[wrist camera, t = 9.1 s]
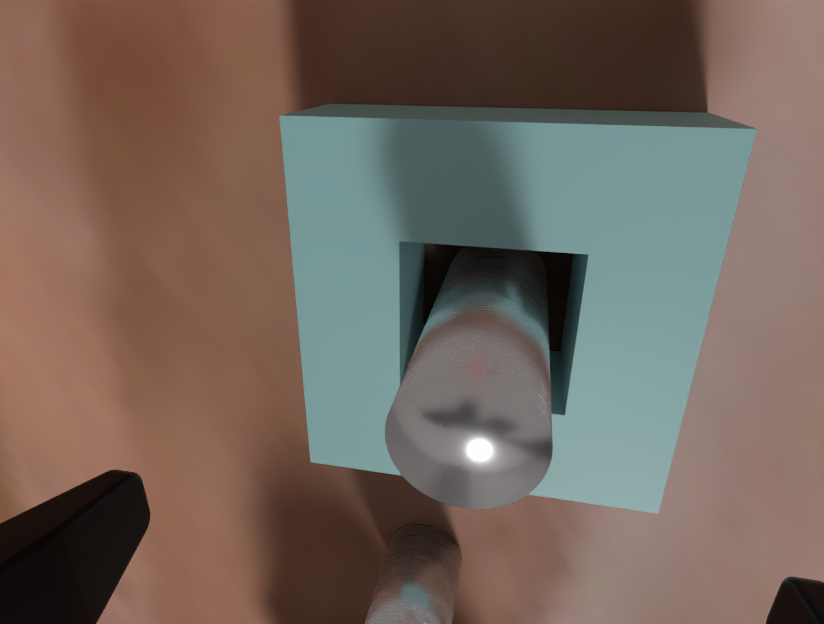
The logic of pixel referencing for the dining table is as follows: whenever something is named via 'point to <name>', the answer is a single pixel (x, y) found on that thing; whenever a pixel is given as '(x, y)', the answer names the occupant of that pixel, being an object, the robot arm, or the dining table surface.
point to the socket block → (523, 230)
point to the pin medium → (478, 385)
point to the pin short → (417, 578)
